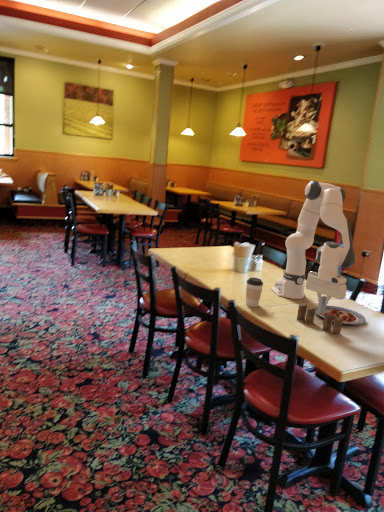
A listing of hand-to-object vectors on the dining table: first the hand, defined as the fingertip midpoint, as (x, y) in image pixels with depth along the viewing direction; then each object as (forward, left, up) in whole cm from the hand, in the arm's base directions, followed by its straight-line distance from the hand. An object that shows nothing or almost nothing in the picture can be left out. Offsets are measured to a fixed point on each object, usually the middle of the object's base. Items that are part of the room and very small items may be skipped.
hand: (322, 302), depth 204 cm
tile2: (-5, -2, -13) cm, 14 cm away
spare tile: (0, 0, -5) cm, 5 cm away
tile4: (+4, +1, -13) cm, 13 cm away
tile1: (-10, -4, -13) cm, 16 cm away
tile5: (+9, +3, -13) cm, 16 cm away
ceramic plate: (-9, +21, -13) cm, 26 cm away
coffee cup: (-33, -19, -13) cm, 41 cm away
